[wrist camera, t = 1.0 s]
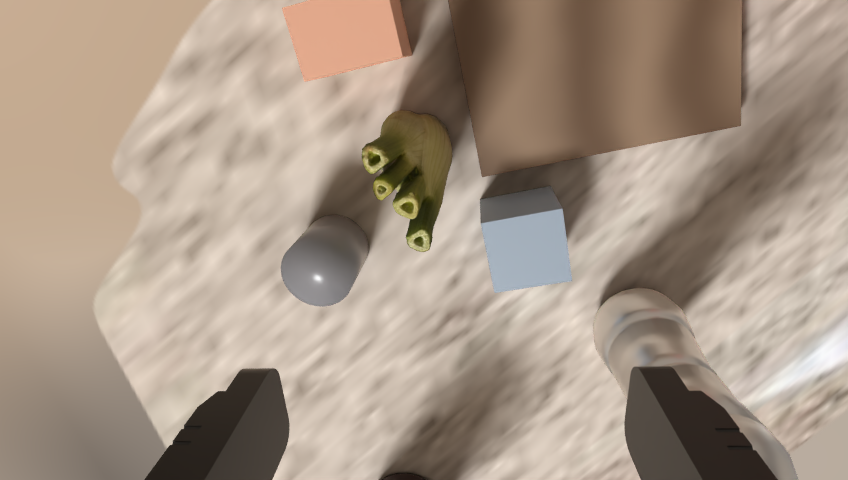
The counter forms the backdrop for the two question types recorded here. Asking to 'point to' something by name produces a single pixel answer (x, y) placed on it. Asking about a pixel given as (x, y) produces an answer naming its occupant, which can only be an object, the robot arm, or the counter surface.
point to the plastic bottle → (674, 361)
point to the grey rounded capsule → (325, 261)
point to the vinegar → (403, 477)
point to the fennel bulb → (411, 170)
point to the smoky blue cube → (525, 239)
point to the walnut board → (594, 75)
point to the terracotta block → (346, 35)
